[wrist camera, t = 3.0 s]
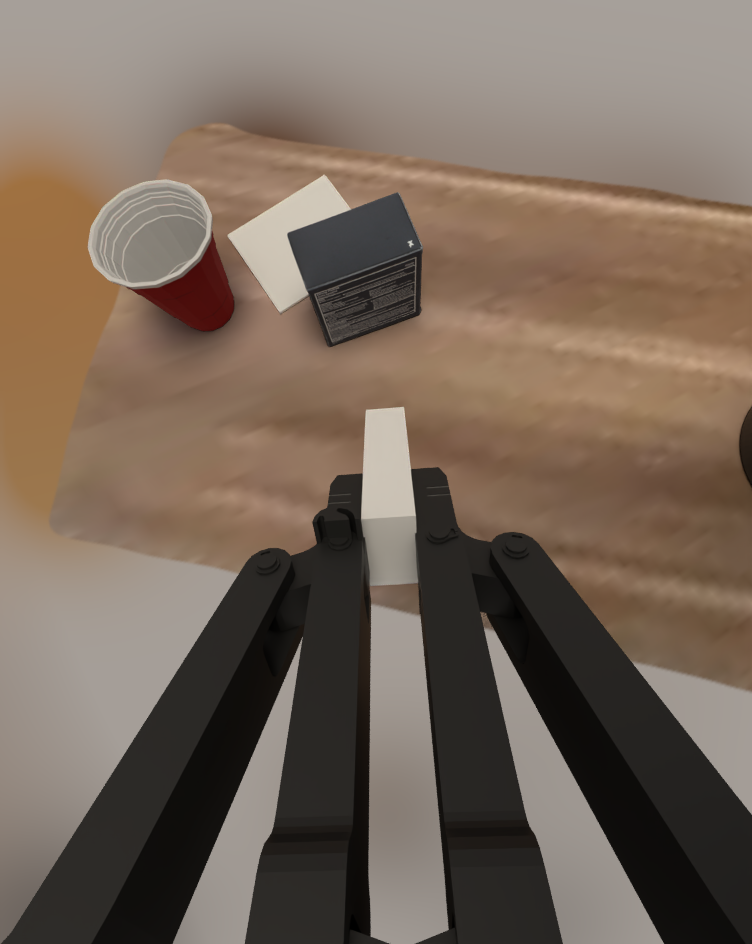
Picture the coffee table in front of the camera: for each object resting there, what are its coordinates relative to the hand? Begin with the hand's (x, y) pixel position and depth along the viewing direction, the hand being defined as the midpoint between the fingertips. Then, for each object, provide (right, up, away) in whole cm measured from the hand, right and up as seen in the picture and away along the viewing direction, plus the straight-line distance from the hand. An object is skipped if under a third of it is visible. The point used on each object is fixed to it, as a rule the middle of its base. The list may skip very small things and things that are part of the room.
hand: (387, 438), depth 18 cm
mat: (-9, +24, +31) cm, 40 cm away
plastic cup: (-19, +17, +31) cm, 40 cm away
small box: (-2, +16, +30) cm, 34 cm away
